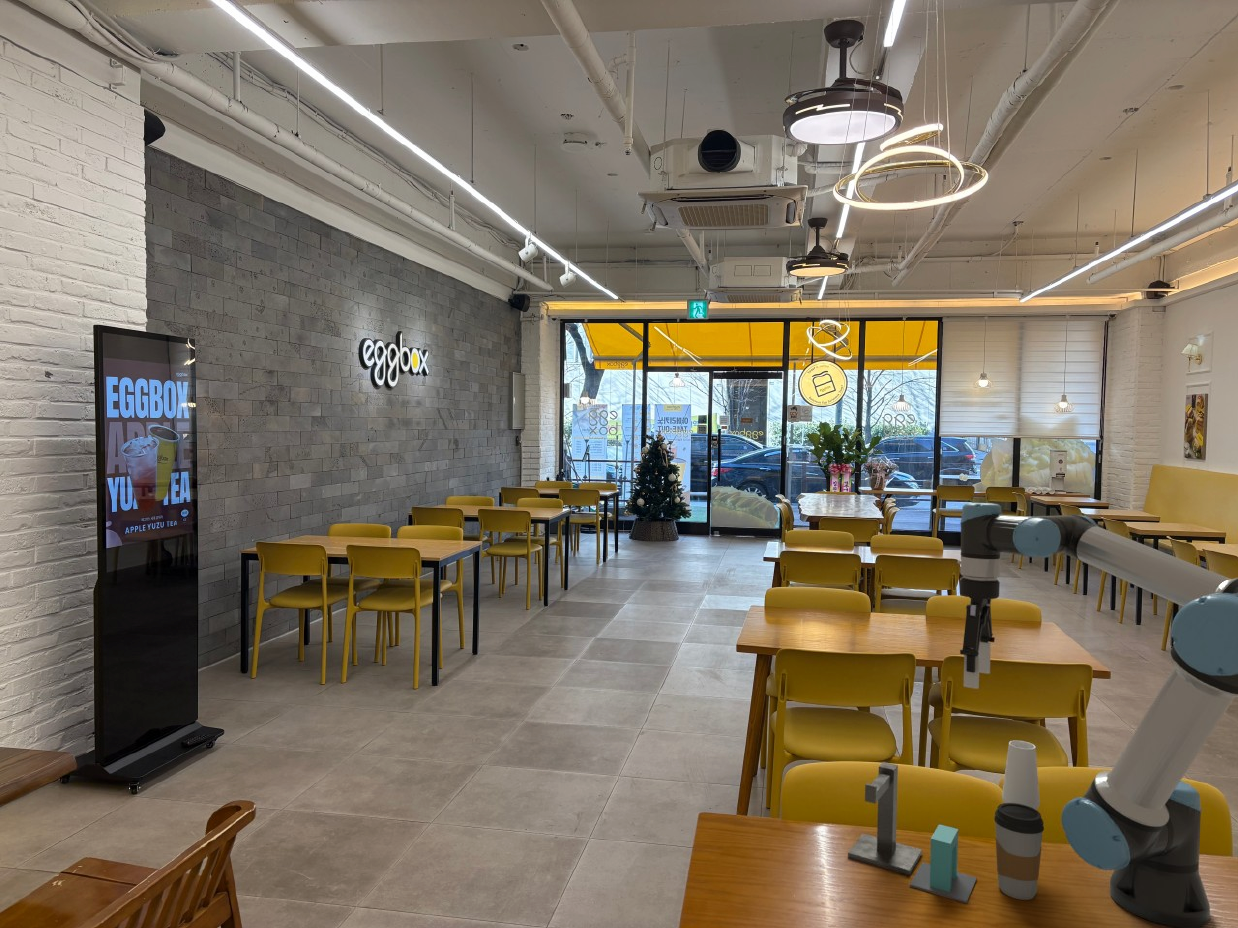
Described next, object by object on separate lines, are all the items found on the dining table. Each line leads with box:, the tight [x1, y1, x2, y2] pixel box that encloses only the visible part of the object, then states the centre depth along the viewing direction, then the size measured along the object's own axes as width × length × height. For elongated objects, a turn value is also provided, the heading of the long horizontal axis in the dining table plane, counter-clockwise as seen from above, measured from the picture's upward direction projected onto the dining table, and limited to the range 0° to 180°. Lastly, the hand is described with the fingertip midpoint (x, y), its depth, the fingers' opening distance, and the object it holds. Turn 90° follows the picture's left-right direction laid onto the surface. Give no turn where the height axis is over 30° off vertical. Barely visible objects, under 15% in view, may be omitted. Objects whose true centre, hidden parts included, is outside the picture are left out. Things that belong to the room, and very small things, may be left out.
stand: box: [847, 761, 923, 876], centre depth 160 cm, size 12×16×18 cm
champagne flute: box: [1001, 740, 1041, 811], centre depth 160 cm, size 7×7×24 cm
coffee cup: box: [993, 802, 1045, 901], centre depth 150 cm, size 8×8×15 cm
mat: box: [909, 862, 978, 904], centre depth 153 cm, size 10×10×1 cm
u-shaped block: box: [929, 824, 959, 892], centre depth 153 cm, size 7×4×9 cm, turn 147°
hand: (977, 679), depth 167 cm, fingers open, 13 cm apart
